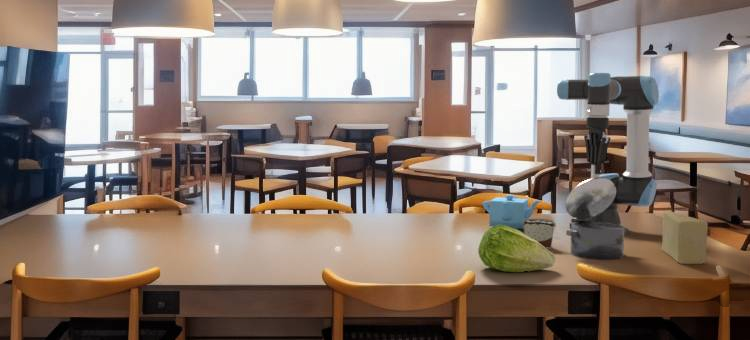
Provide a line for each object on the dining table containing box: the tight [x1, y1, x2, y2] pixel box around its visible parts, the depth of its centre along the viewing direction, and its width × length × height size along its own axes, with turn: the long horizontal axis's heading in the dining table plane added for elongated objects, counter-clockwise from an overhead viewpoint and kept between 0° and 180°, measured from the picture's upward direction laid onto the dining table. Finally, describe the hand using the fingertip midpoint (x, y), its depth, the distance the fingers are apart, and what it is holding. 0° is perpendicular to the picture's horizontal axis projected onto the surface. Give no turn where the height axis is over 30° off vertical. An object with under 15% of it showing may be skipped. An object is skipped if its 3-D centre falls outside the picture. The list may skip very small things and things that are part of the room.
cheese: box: [661, 210, 709, 265], centre depth 247 cm, size 22×10×15 cm, turn 2°
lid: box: [564, 177, 616, 223], centre depth 255 cm, size 20×19×4 cm
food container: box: [522, 217, 557, 249], centre depth 265 cm, size 12×6×10 cm, turn 71°
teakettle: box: [482, 194, 542, 230], centre depth 298 cm, size 19×19×15 cm
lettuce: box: [477, 224, 557, 273], centre depth 227 cm, size 15×24×16 cm
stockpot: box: [565, 222, 629, 261], centre depth 252 cm, size 20×23×10 cm
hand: (595, 182), depth 252 cm, fingers closed
